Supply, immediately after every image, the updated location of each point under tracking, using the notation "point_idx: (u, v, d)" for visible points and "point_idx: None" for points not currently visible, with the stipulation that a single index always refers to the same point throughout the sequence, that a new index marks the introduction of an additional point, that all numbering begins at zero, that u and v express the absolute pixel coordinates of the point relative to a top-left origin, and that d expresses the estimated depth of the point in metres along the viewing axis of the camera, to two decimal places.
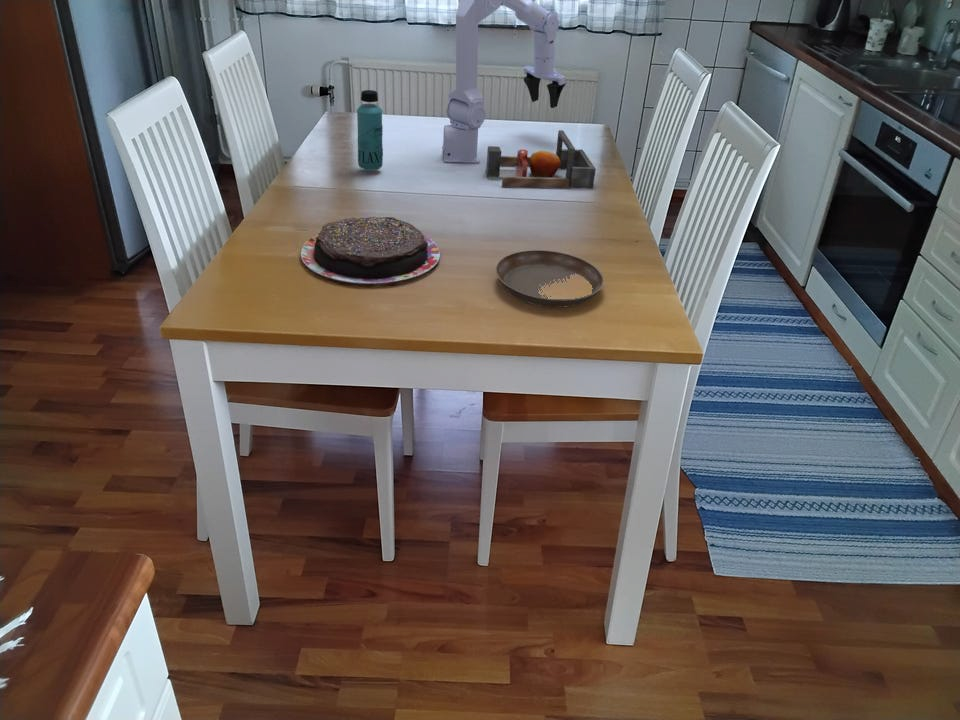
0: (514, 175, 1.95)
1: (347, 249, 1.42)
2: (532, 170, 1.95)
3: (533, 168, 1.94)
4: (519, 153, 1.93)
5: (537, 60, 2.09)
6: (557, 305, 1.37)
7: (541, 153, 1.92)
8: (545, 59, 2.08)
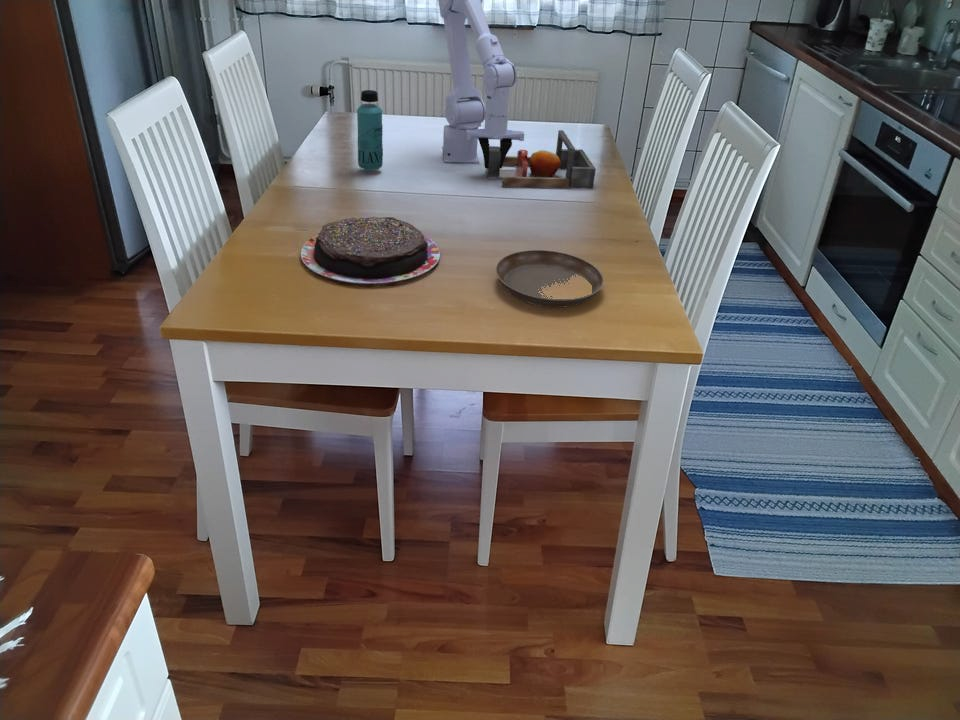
0: (514, 175, 1.95)
1: (347, 249, 1.42)
2: (532, 170, 1.95)
3: (533, 168, 1.94)
4: (519, 153, 1.93)
5: None
6: (557, 305, 1.37)
7: (541, 153, 1.92)
8: None
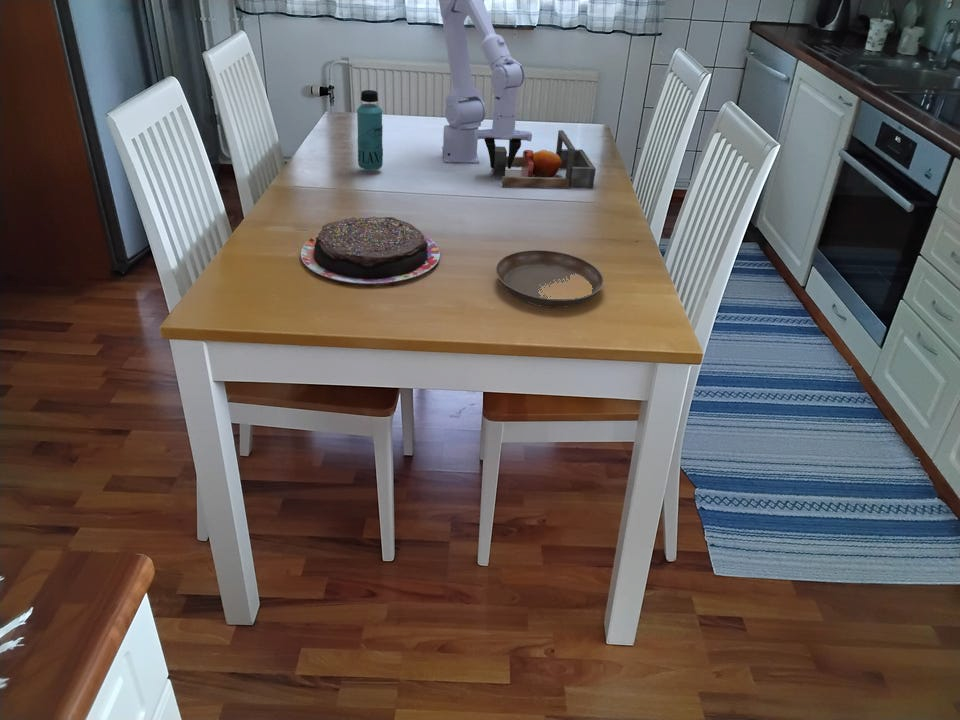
0: (520, 175, 1.95)
1: (347, 249, 1.42)
2: (533, 170, 1.95)
3: (534, 168, 1.94)
4: (525, 153, 1.93)
5: None
6: (557, 305, 1.37)
7: (542, 153, 1.92)
8: None
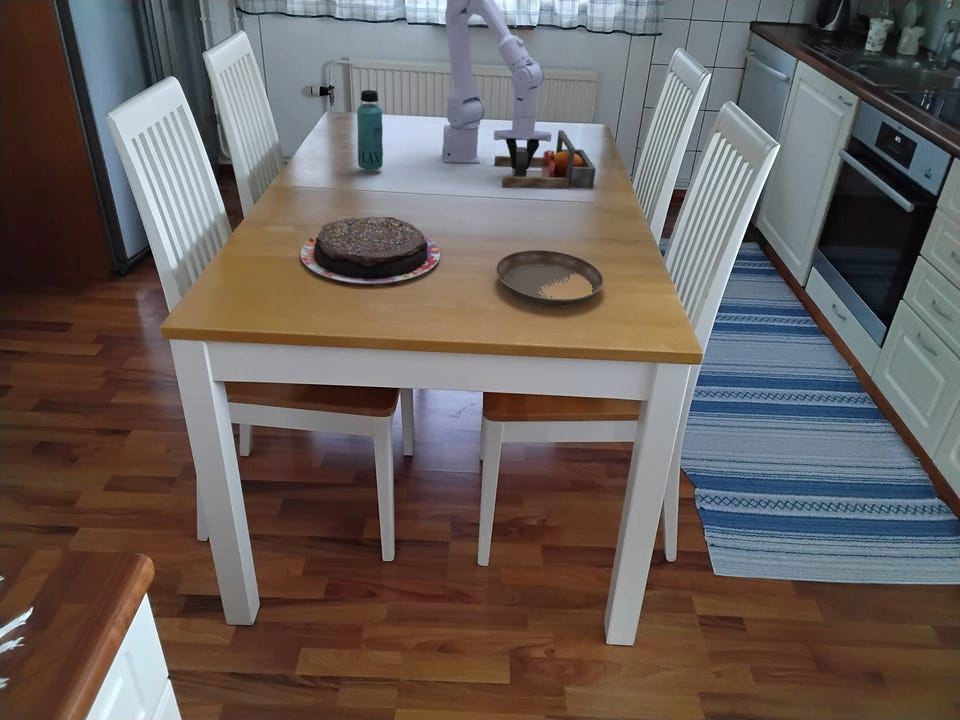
0: (541, 176, 1.96)
1: (347, 249, 1.42)
2: (554, 170, 1.95)
3: (555, 169, 1.94)
4: (546, 154, 1.94)
5: None
6: (557, 305, 1.37)
7: (563, 154, 1.93)
8: None
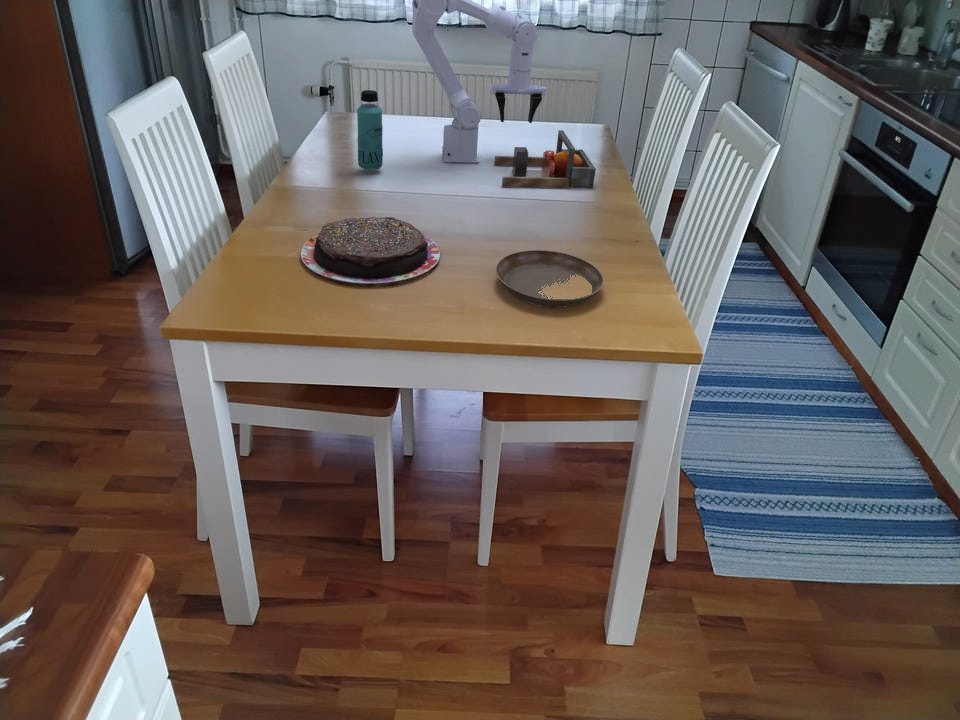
0: (541, 176, 1.96)
1: (346, 249, 1.42)
2: (554, 170, 1.95)
3: (555, 169, 1.94)
4: (546, 154, 1.94)
5: None
6: (557, 305, 1.37)
7: (563, 154, 1.93)
8: None
